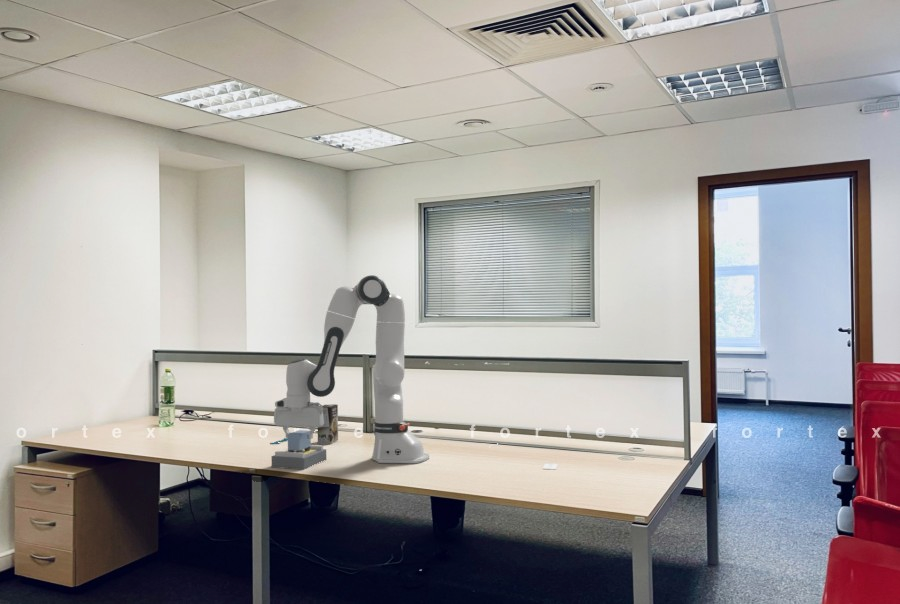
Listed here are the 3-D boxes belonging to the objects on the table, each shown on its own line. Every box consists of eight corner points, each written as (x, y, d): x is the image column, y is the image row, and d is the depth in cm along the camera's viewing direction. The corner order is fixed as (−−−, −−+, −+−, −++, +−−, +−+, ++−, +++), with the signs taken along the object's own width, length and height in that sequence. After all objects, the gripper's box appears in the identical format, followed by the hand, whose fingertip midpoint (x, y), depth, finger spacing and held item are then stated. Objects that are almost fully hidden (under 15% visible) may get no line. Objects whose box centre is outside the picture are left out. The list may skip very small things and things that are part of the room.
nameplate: (267, 444, 293) (276, 445, 291) (267, 442, 293) (276, 443, 291) (318, 430, 326) (326, 430, 324) (318, 428, 326) (326, 429, 324)
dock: (326, 459, 259) (326, 445, 259) (304, 469, 244) (303, 454, 244) (295, 457, 264) (295, 443, 264) (271, 467, 249) (271, 452, 249)
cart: (310, 450, 257) (310, 430, 257) (299, 454, 249) (299, 434, 250) (299, 449, 259) (299, 430, 259) (287, 453, 251) (287, 434, 251)
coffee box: (331, 444, 289) (330, 407, 289) (317, 444, 290) (316, 407, 291) (338, 440, 298) (338, 404, 298) (325, 439, 299) (324, 404, 299)
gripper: (326, 401, 254) (327, 437, 254) (280, 400, 261) (281, 435, 261) (318, 403, 248) (318, 441, 248) (271, 402, 255) (271, 438, 255)
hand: (299, 438), depth 254 cm, fingers open, 8 cm apart
